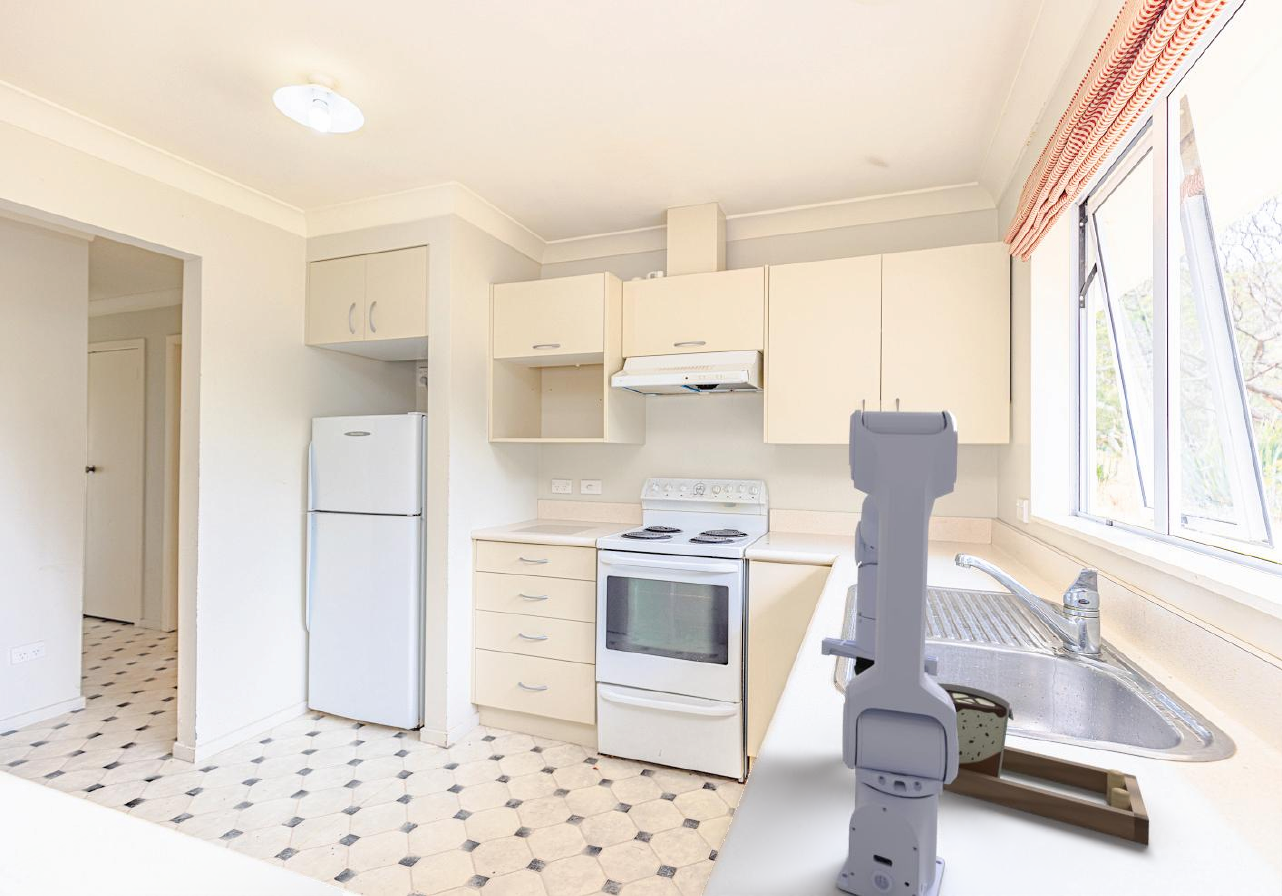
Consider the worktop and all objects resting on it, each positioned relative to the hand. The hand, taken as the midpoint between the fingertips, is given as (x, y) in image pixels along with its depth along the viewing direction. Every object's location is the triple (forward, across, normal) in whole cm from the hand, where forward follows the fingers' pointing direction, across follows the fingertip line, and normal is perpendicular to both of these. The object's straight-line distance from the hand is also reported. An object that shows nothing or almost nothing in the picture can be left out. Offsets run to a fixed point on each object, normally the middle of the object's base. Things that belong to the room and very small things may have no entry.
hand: (876, 718), depth 86 cm
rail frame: (+4, -18, 0) cm, 18 cm away
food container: (+5, -9, 0) cm, 10 cm away
